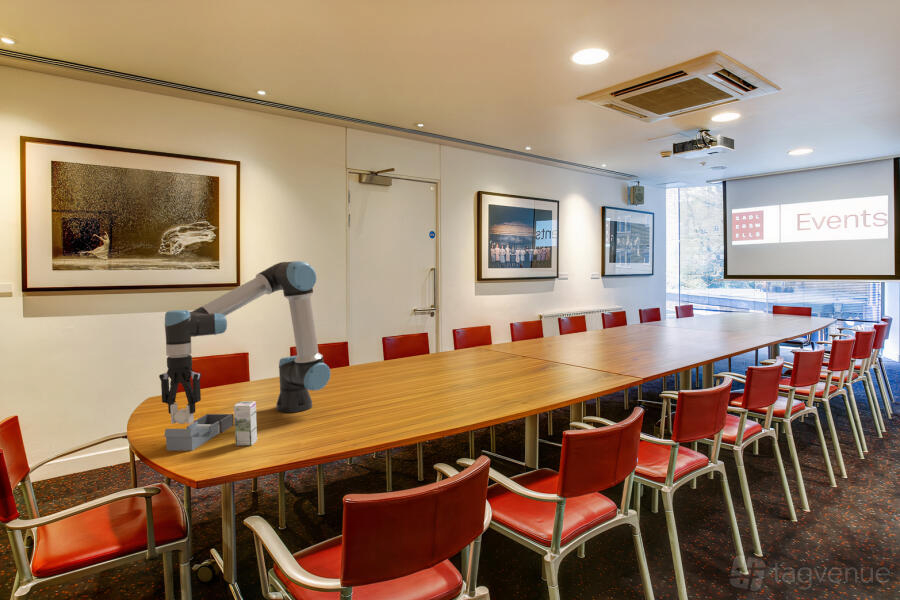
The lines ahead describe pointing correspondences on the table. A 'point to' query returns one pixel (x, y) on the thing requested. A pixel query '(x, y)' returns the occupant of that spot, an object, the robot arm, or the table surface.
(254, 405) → the syrup box
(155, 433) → the table surface
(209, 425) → the launch ramp
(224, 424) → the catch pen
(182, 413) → the pale rubber ball
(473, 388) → the table surface
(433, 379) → the table surface
